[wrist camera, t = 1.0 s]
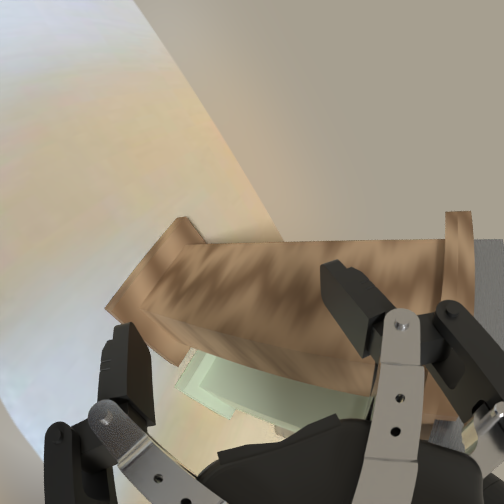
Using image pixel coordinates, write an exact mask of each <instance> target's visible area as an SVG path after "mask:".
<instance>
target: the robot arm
mask: <svg viewBox="0 0 504 504" xmlns="http://www.w3.org/2000/svg"><path fill="white" fill-rule="evenodd" d="M320 287H321V297H322V300H323V302H324V304H325V306H326V308H327V309H328V310H329V312H330V313H331V315H332V316H333V318H334V319H335V320H336V322H337V323H338V325H339V326H340V328H341V329H342V330H343V332H344V333H345V335H346V336H347V338H348V339H349V341H350V342H351V344H352V345H353V346H354V348H355V349H356V351H357V352H358V354H359V355H360V357H361V358H362V359H363V358H365V357H367V356H370V355H371V356H372V358H373V359H374V361H375V364H374V371H373V377H372V383H371V389H370V395H369V400H368V404H367V408H366V412H365V416H364V419H358V418H347V419H339V418H338V416H337V415H336V413H335V414H333V415H330V416H328V417H325V418H323V419H320V420H318V421H315V422H313V423H310V424H308V425H306V426H305V427H303V428H302V429H300V430H299V431H297V432H293V431H290V430H287V429H285V428H282V427H279V426H277V425H275V431H276V433H277V435H279V436H282V437H284V438H286V439H284V440H283V441H281V442H276V443H264V444H249V445H244V446H240V447H236V448H232V449H228V450H224V451H220V452H217V454H218V457H219V459H218V460H216V461H214V462H213V463H211V464H210V465H208V466H207V467H206V468H205V469H204V470H203V471H202V472H201V473H200V474H199V475H198V476H197V475H196V474H194V473H193V472H192V471H191V470H189V469H188V468H187V467H185V466H184V465H183V464H182V463H180V462H179V461H178V460H177V459H176V458H175V457H173V456H172V455H171V454H170V453H169V452H168V451H167V450H165V449H164V448H163V447H162V446H161V445H160V444H159V443H158V442H157V441H156V440H155V439H153V438H152V437H151V436H150V435H149V434H148V433H147V427H148V426H154V425H156V423H155V412H154V400H153V385H152V366H151V355H150V352H149V349H148V347H147V345H146V343H145V342H144V340H143V338H142V337H141V335H140V333H139V332H138V330H137V328H136V326H135V325H134V323H133V322H128V323H125V324H121V325H117V326H115V327H114V332H113V340H108V341H107V343H106V344H105V346H104V348H103V350H102V356H101V365H100V371H101V372H100V374H99V386H98V399H97V403H96V404H94V405H93V406H92V408H91V409H90V411H89V413H88V418H87V419H86V420H84V421H82V422H80V423H78V424H75V425H73V426H71V427H70V426H69V425H68V424H66V423H64V422H56V423H54V424H52V425H51V426H50V427H49V428H48V430H47V432H46V434H45V444H44V491H45V492H44V493H45V504H118V502H117V496H116V490H115V483H114V475H113V467H112V466H114V465H116V464H118V463H119V464H118V465H117V466H118V468H119V469H120V471H121V472H122V473H123V474H124V475H125V476H126V477H127V479H128V480H129V481H130V482H131V483H132V484H133V485H134V486H135V487H136V488H137V489H138V490H139V491H140V492H141V493H142V494H143V495H144V496H145V497H146V498H147V499H148V500H149V501H150V502H151V503H152V504H504V482H503V481H502V480H501V479H499V478H498V477H497V476H495V475H494V474H492V473H491V472H492V471H493V470H494V469H495V468H496V467H498V466H499V465H500V464H501V463H502V462H503V461H504V351H503V350H502V349H501V347H500V346H499V345H498V344H497V343H496V341H495V340H494V339H493V338H492V337H491V336H490V334H489V333H488V332H487V331H486V330H485V329H484V328H483V327H482V325H481V324H480V323H479V322H478V321H477V320H476V319H475V318H474V317H473V316H472V315H471V313H470V312H469V311H468V310H467V309H466V308H465V307H464V306H463V305H462V304H461V303H459V302H457V301H454V300H443V301H441V302H440V303H438V305H437V307H436V310H435V312H432V313H426V314H421V315H416V314H415V313H414V312H412V311H411V310H408V309H404V308H396V307H395V306H394V305H393V304H392V303H391V302H390V301H389V300H388V299H387V297H386V296H385V295H384V294H383V293H382V292H381V291H380V290H379V289H378V288H377V287H375V285H374V284H373V283H372V282H371V281H369V278H368V277H367V276H366V275H365V274H364V273H363V272H361V271H359V270H357V269H355V268H353V267H349V268H346V267H345V266H344V265H343V264H342V263H341V262H340V261H339V260H338V259H336V260H333V261H330V262H327V263H324V264H321V265H320ZM422 365H425V367H426V368H427V369H428V371H429V372H430V374H431V375H432V377H433V378H434V380H435V381H436V383H437V384H438V386H439V387H440V388H441V390H442V391H443V393H444V394H445V396H446V397H447V399H448V401H449V402H450V404H451V405H452V407H453V408H454V410H455V411H456V413H457V414H458V416H459V418H460V419H461V421H462V422H463V424H464V426H463V428H462V443H463V445H464V446H465V453H464V452H460V451H457V450H453V449H450V448H446V447H443V446H440V445H437V444H433V443H430V442H428V440H422V439H420V431H421V422H422V410H423V396H424V366H422Z"/></svg>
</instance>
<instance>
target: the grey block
mask: <svg viewBox="0 0 504 504" xmlns="http://www.w3.org/2000/svg"><path fill="white" fill-rule="evenodd" d="M474 257H475V300H474V318H475V319H476V320H477V321H478V322H479V323H480V324H481V325H482V327H483V328H484V329H485V330H486V331H487V332H488V333H489V334H490V336H491V337H492V338H493V339H494V340H495V341H496V343H497V344H498V345H499V346H500V347H501V349H502V350H503V351H504V244H503V240H502V239H491V240H490V239H488V240H487V239H484V240H474ZM463 426H464V424H463V422H462V421H461V419H460V418H459V416H458V418H457V420H456V421H446V420H436V419H435V421H434V424H433V428H432V431H431V434H430V437H429V440H428V442H430V443H433V444H437V445H440V446H443V447H446V448H450V449H453V450H457V451H460V452H464V453H465V446H464V445H463V443H462V428H463Z"/></svg>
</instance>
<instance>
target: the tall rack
mask: <svg viewBox="0 0 504 504" xmlns="http://www.w3.org/2000/svg"><path fill="white" fill-rule="evenodd" d="M445 213H446V216H445V217H446V228H445V229H446V230H445V239H424V240H423V239H419V240H418V239H416V240H360V241H359V240H358V241H357V240H356V241H355V240H354V241H309V242H265V243H228V244H206V242H205V241H204V240H203V238H202V237H201V236H200V235H199V233H198V232H197V231H196V229H195V228H194V227H193V225H192V224H191V223H190V221H189V220H188V219H187V217H180V218H176V220H175V221H174V222H173V223H172V224H171V225H170V227H169V228H168V229H167V230H166V231H165V233H164V234H163V235H162V236H161V237H160V238H159V240H158V241H157V242H156V243H155V244H154V246H153V247H152V248H151V249H150V251H149V252H148V253H147V254H146V255H145V257H144V258H143V259H142V260H141V262H140V263H139V264H138V265H137V267H136V268H135V269H134V270H133V272H132V273H131V274H130V276H129V277H128V278H127V279H126V281H125V282H124V283H123V285H122V286H121V287H120V289H119V290H118V291H117V292H116V294H115V295H114V296H113V298H112V299H111V300H110V302H109V303H108V304H107V306H106V307H105V310H107V311H108V312H109V313H110V314H111V315H112V316H113V317H114V318H116V319H117V320H118V321H119V322H120V323H121V324H125V323H128V322H133V323H134V325H135V326H136V328H137V330H138V332H139V333H140V335H141V337H142V338H143V340H144V342H145V343H146V345H148V346H149V347H150V348H151V349H153V350H154V351H155V352H156V353H158V354H159V355H160V356H162V357H163V358H164V359H165V360H167V361H168V362H169V363H171V364H173V365H175V366H177V367H179V365H180V363H181V362H182V360H183V359H184V357H185V355H186V354H187V352H188V351H189V349H190V347H192V348H195V349H198V350H200V351H203V352H206V353H209V354H211V355H214V356H217V357H220V358H223V359H226V360H229V361H232V362H235V363H238V364H241V365H244V366H247V367H250V368H254V369H257V370H260V371H263V372H267V373H270V374H274V375H277V376H281V377H284V378H288V379H292V380H295V381H299V382H303V383H307V384H311V385H315V386H319V387H323V388H327V389H332V390H336V391H341V392H345V393H350V394H355V395H360V396H365V397H369V395H370V389H371V383H372V377H373V371H374V364H375V361H374V359H373V358H372V356H371V355H370V356H367V357H365V358H363V359H362V358H361V357H360V355H359V354H358V352H357V351H356V349H355V348H354V346H353V345H352V344H351V342H350V341H349V339H348V338H347V336H346V335H345V333H344V332H343V330H342V329H341V328H340V326H339V325H338V323H337V322H336V320H335V319H334V318H333V316H332V315H331V313H330V312H329V310H328V309H327V308H326V306H325V304H324V302H323V300H322V297H321V287H320V265H321V264H324V263H327V262H330V261H333V260H336V259H338V260H339V261H340V262H341V263H342V264H343V265H344V266H345V267H346V268H349V267H353V268H355V269H357V270H359V271H361V272H363V273H364V274H365V275H366V276H367V277H368V278H369V281H371V282H372V283H373V284H374V285H375V287H377V288H378V289H379V290H380V291H381V292H382V293H383V294H384V295H385V296H386V297H387V299H388V300H389V301H390V302H391V303H392V304H393V305H394V306H395V307H396V308H404V309H408V310H411V311H412V312H414V313H415V314H416V315H421V314H426V313H432V312H435V310H436V307H437V305H438V303H440V302H441V301H443V300H454V301H457V302H459V303H461V304H462V305H463V306H464V307H465V308H466V309H467V310H468V311H469V312H470V313H471V315H472V316H473V317H474V300H475V257H474V238H473V225H472V216H471V211H455V212H445ZM422 366H424V396H423V410H422V422H421V431H420V439H422V440H429V437H430V434H431V431H432V428H433V424H434V421H435V419H436V420H446V421H456V420H457V418H458V414H457V413H456V411H455V410H454V408H453V407H452V405H451V404H450V402H449V401H448V399H447V397H446V396H445V394H444V393H443V391H442V390H441V388H440V387H439V386H438V384H437V383H436V381H435V380H434V378H433V377H432V375H431V374H430V372H429V371H428V369H427V368H426V367H425V365H422Z"/></svg>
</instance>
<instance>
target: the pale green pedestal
mask: <svg viewBox="0 0 504 504" xmlns="http://www.w3.org/2000/svg"><path fill="white" fill-rule="evenodd" d="M174 388H176V389H177V390H179V391H181V392H182V393H184V394H185V395H187V396H188V397H190V398H192V399H193V400H195V401H197V402H198V403H200V404H202V405H203V406H205V407H207V408H208V409H210V410H212V411H214V412H215V413H217V414H219V415H221V416H223V417H225V418H227V419H229V420H230V419H231V417H232V415H233V413H234V412H235V410H236V409H237V410H239V411H242V412H244V413H246V414H249V415H251V416H254V417H256V418H259V419H261V420H264V421H266V422H269V423H271V424H274V425H277V426H279V427H282V428H285V429H287V430H290V431H293V432H297V431H299V430H300V429H302V428H303V427H305V426H306V425H308V424H310V423H313V422H315V421H318V420H320V419H323V418H325V417H328V416H330V415H333V414H335V413H336V415H337V416H338V418H339V419H347V418H358V419H364V416H365V412H366V408H367V404H368V400H369V397H365V396H360V395H355V394H350V393H345V392H341V391H336V390H332V389H327V388H323V387H319V386H315V385H311V384H307V383H303V382H299V381H295V380H292V379H288V378H284V377H281V376H277V375H274V374H270V373H267V372H263V371H260V370H257V369H254V368H250V367H247V366H244V365H241V364H238V363H235V362H232V361H229V360H226V359H223V358H220V357H217V356H214V355H211V354H209V353H206V352H203V351H200V350H197V351H196V353H195V355H194V356H193V358H192V359H191V361H190V363H189V364H188V366H187V367H186V369H185V371H184V372H183V374H182V376H181V377H180V379H179V380H178V382H177V384H176V385H175V387H174Z"/></svg>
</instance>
